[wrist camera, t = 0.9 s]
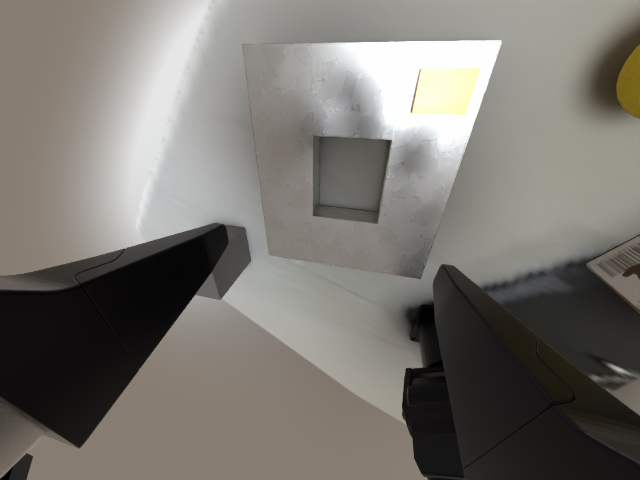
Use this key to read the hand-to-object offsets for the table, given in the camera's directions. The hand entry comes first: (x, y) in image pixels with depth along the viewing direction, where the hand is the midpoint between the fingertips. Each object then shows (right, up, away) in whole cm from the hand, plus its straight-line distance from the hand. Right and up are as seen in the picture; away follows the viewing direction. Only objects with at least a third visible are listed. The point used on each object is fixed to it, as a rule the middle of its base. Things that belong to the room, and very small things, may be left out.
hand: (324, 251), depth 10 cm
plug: (-11, 0, +20) cm, 23 cm away
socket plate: (+3, +7, +12) cm, 14 cm away
